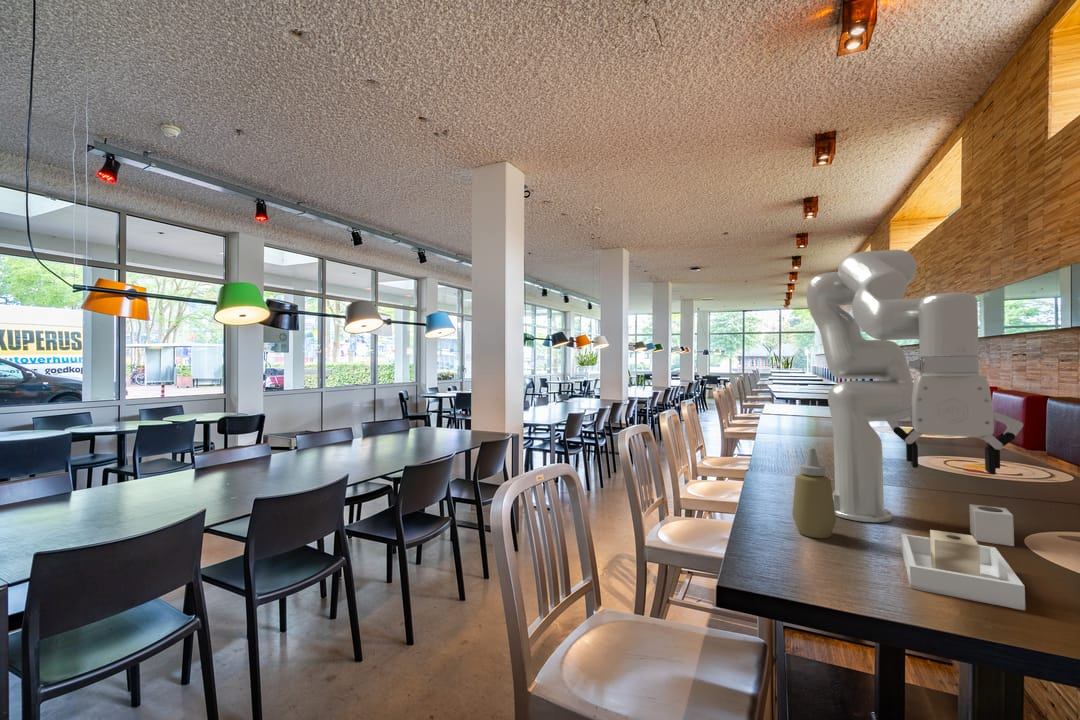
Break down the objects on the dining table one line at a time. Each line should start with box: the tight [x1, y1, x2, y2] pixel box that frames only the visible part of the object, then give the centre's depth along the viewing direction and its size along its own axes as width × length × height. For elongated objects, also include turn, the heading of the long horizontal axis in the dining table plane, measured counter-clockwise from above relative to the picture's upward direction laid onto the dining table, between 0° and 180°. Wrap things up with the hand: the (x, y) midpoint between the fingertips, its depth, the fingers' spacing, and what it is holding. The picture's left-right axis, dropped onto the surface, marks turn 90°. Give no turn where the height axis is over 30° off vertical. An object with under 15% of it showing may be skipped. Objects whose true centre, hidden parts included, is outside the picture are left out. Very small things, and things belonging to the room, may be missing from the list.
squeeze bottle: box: [792, 447, 837, 539], centre depth 99 cm, size 8×8×18 cm
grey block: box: [968, 503, 1015, 547], centre depth 95 cm, size 6×6×6 cm
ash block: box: [929, 529, 980, 576], centre depth 78 cm, size 6×6×6 cm
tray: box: [900, 533, 1026, 611], centre depth 78 cm, size 13×17×4 cm
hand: (951, 469), depth 79 cm, fingers open, 9 cm apart
